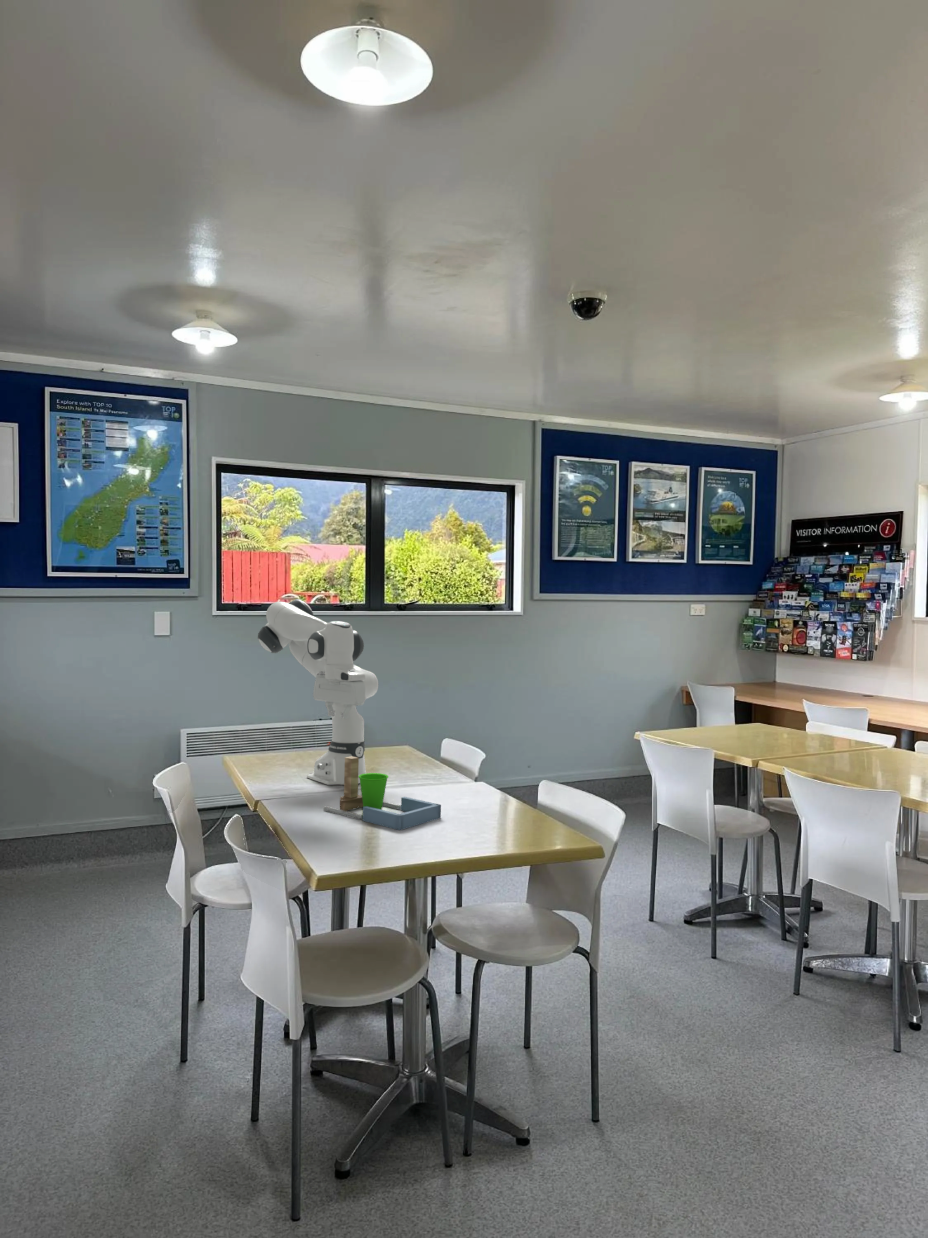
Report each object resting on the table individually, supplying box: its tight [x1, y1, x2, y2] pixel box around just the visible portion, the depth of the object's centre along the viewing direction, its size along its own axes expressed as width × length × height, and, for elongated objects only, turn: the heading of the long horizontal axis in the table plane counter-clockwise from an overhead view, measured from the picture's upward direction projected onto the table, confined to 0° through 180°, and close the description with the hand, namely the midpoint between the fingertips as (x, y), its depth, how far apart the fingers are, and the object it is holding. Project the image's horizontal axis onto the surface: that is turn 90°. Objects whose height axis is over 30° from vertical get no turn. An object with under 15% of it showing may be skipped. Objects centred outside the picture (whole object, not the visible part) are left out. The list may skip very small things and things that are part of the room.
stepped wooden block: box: [339, 756, 363, 811], centre depth 258 cm, size 5×12×15 cm, turn 142°
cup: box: [359, 772, 389, 810], centre depth 253 cm, size 9×9×11 cm
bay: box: [362, 796, 442, 831], centre depth 246 cm, size 14×18×4 cm
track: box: [323, 800, 401, 821], centre depth 255 cm, size 16×18×1 cm
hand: (338, 717), depth 262 cm, fingers open, 5 cm apart
